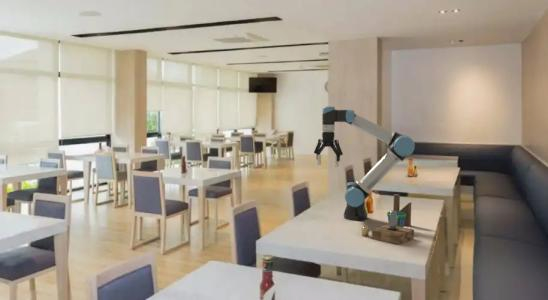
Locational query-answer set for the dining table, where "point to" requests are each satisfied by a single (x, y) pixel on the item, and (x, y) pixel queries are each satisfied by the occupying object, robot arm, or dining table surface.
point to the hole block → (393, 234)
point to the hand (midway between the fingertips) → (327, 165)
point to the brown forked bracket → (405, 210)
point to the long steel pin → (393, 220)
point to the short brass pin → (365, 231)
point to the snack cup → (398, 218)
